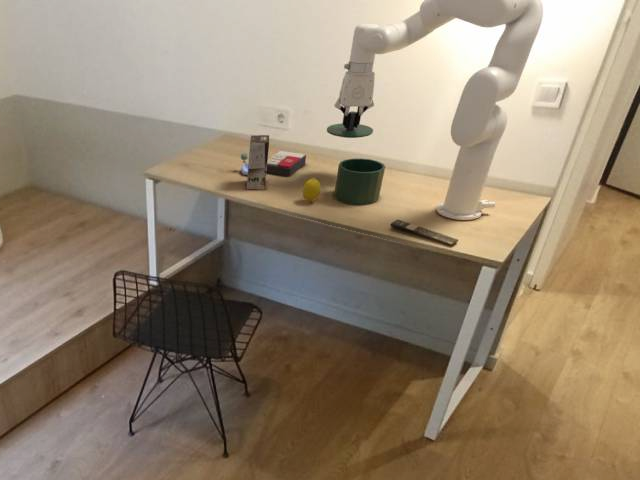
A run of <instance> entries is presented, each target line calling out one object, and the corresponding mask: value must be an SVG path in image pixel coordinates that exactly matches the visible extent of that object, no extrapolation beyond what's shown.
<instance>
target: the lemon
mask: <svg viewBox="0 0 640 480" xmlns="http://www.w3.org/2000/svg"><path fill="white" fill-rule="evenodd" d="M320 193H321V184H320V182H319V181H318V180H317V179H315V178H314V177H312V178H310V179H308V180H307V181H305V183H304V185H303V187H302V197H303V198H304V200H306V201H307V202H308V203H312V202H313V201H315V200H317V199H318V198H319V196H320Z"/></svg>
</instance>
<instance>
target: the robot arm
mask: <svg viewBox="0 0 640 480" xmlns="http://www.w3.org/2000/svg"><path fill="white" fill-rule="evenodd" d="M543 16H544V6H543V1H542V0H423V1H422V3H421V4H420V5H419V10H418V11H417V12H415V13H414V14H412V15H411V16H409V17H406V18H405V19H404V20H401V21H400V22H396V23H391V24H387V25H382V26H380V25H378V24H377V23H375V22H374V23H373V22H371V23H370V22H366V23H364V22H363V23H359V24H357V25H356V26H355V27H354V30H353V37H352V43H351V49H350V54H349V60H348V62H347V63H344V64H343V69H344V70H347V71H345V73H344V75H343V79H342V82H341V86H340V91H339V95H338V98H337V99H336V101H335V103H334V105H333V106H334V108H336V109H337V110H339V111H340V112H342V113H343V116H342V123H341V124H343V125H344V127H345V128H348V122H349V112H350V108H351V107H352V108H353V107H357V108H356V109H357V110H356V112H357V115H356V120H355V126H354V127H355V128H357V127H358V125H359V124H360V123H361V117H362V116H363V114H364V113H365V112H366V111H367V110H369V109H371V108H373V107H374V106H375V103H374V99H373V98H374V90H375V77H376V76H375V75H376V73H375V72H374V71H373V68H374V63H375V58H376V55H384V54H389V53H392V52H396V51H400V50H403V49H405V48H407V47H409V46H411V45H413V44H414V43H416V42H418V41H420V40H422V39H423V38H425V37H427V36H428V35H430V34H431V33H433V32H434V31H435V30H437V29H438V28H440V27H442V26H444V25H446V24H447V23H450V22H451V21H453V20H455V19H458V20H461V21H464V22H466V23H469V24H472V25H474V26H477V27H478V26H479V27H481V28H495V27H499V26H503V25H505V28H504V30H503V32H502V34H501V36H500V37H499V39H498V41H497V42H496V45H495V47H494V51H493V54H492V57H491V59H490V61H489V63H488V65H487V66H486V67H484V68H482V69H479V70H477V71H476V72H475V73H473V74H472V75H471V76H470V77H469V78H468V80H467V81H466V83H465V85H464V88H463V89H462V93H461V95H460V98H459V101H458V104H457V107H456V110H455V112H454V116H453V118H452V122H451V126H450V137H451V140H452V141H453V143H454V144H455V145H456V146H458V147H459V150H458V153H457V156H456V160H455V162H454V166H453V170H452V174H451V176H450V181H449V185H448V188H447V191H446V195H445V198H444V201H443V202H442V203H440V204H438V205H437V208H436V212H437V214H439V215H441V216H442V217H445V218H448V219H452V220H457V221H458V220H459V221H472V220H476V219H478V218H480V217H481V216H482V213H483V212H482V210H484V209H495V207H496V202H495V201H488V199H481V198H482V195H483V192H484V188H485V184H486V182H487V179H488V175H489V173H490V169H491V166H492V163H493V159H494V157H495V154H496V152H497V151H496V150H497V148H498V145H499V143H500V142H501V139H502V137H503V135H504V133H505V131H506V127H507V125H508V124H507V123H508V115H507V112H506V110H505V109H504V108H503V107H502V106H501V105H499V104H497V103H498V102H499V103H500V102H501V101H504V100H505V99H508V98H509V97H511V96H512V95H513V94H514V93H515V91H516V89H517V87H518V85H519V83H520V80H521V77H522V75H523V72H524V69H525V68H526V65H527V62H528V60H529V56H530V53H531V51H532V48H533V45H534V43H535V40H536V38H537V36H538V33H539V31H540V29H541V25H542V21H543Z"/></svg>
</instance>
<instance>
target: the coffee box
mask: <svg viewBox="0 0 640 480" xmlns="http://www.w3.org/2000/svg"><path fill="white" fill-rule="evenodd" d="M249 141H250V142H249V153H248V155H249V156H248V163H249V164H248V175H247V181H246V190H260V191H261V190H265V188H266V178H267V173H266V171H267V161H268V159H269V149H270V135H268V134H259V135H255V134H254V135H252V134H251V135H250V140H249Z"/></svg>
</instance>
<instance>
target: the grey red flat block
mask: <svg viewBox="0 0 640 480" xmlns="http://www.w3.org/2000/svg"><path fill="white" fill-rule="evenodd" d="M306 161H307V155H306V154H303V153H299V152H298V153H297V152H290V151H284V150H279V151H278V152H276V153H274V154H273V155H272V156H271V157H270V158H268V161H267V171H266V174H272V175H277V176H284V177H291V176H292V175H293V174H294V173H296V172H297V171H298V170H299V169H302V168H303V167H304V166H305V165H306Z"/></svg>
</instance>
